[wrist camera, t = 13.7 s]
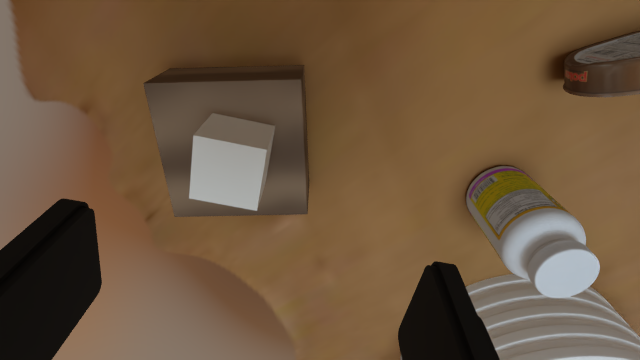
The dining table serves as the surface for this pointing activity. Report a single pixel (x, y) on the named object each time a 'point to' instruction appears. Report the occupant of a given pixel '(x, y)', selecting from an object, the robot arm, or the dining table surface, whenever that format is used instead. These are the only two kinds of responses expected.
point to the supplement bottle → (532, 232)
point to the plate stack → (550, 323)
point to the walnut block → (239, 102)
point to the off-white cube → (230, 161)
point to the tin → (605, 68)
